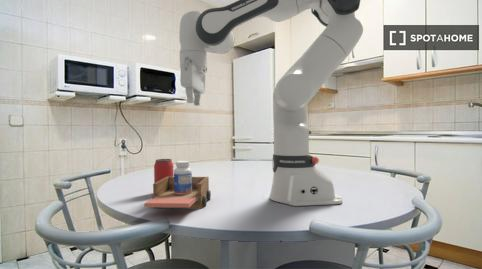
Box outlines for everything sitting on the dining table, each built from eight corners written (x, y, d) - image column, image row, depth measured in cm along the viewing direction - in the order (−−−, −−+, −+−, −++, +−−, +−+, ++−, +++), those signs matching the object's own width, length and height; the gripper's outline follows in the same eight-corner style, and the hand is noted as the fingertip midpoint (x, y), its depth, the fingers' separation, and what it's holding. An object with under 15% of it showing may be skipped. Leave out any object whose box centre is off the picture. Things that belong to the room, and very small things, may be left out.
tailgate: (198, 196, 79) (190, 203, 69) (198, 200, 79) (190, 207, 69) (155, 195, 79) (142, 202, 70) (155, 200, 79) (142, 207, 70)
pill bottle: (174, 191, 87) (173, 160, 87) (191, 190, 88) (191, 160, 88) (174, 195, 82) (173, 162, 82) (192, 194, 83) (192, 162, 83)
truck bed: (211, 197, 91) (211, 176, 91) (204, 208, 79) (204, 184, 79) (164, 197, 92) (164, 176, 92) (150, 208, 80) (150, 183, 80)
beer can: (176, 191, 101) (175, 158, 100) (169, 195, 94) (169, 160, 94) (158, 191, 101) (158, 158, 101) (151, 195, 95) (150, 160, 95)
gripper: (195, 54, 82) (196, 101, 82) (207, 69, 102) (208, 106, 102) (174, 54, 82) (175, 101, 82) (191, 69, 102) (191, 106, 103)
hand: (193, 104), depth 92 cm, fingers open, 8 cm apart
